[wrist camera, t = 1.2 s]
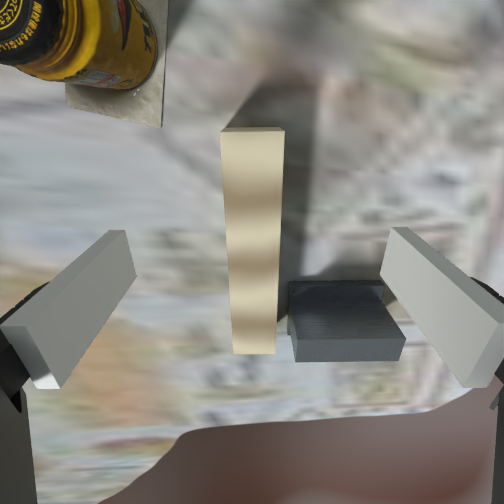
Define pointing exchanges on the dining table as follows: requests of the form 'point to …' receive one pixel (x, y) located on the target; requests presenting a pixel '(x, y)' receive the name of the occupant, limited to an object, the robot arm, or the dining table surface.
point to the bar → (253, 232)
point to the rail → (341, 322)
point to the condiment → (92, 51)
